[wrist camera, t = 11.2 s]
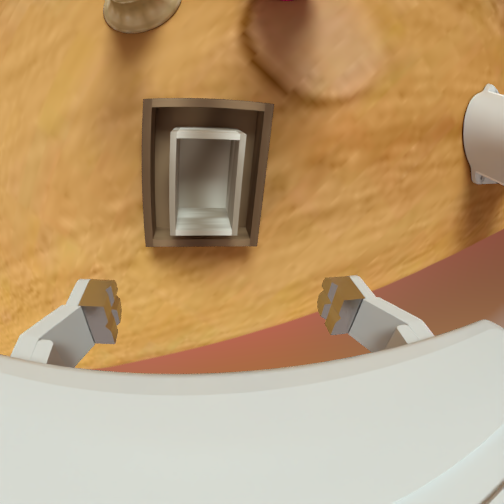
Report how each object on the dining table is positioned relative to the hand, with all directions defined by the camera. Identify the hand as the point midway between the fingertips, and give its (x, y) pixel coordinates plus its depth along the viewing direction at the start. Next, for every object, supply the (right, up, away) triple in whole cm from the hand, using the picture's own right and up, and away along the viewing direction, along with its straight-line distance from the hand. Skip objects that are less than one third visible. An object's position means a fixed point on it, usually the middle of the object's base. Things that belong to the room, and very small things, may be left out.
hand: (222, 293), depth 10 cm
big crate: (-4, +10, +17) cm, 21 cm away
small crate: (-4, +10, +17) cm, 20 cm away
